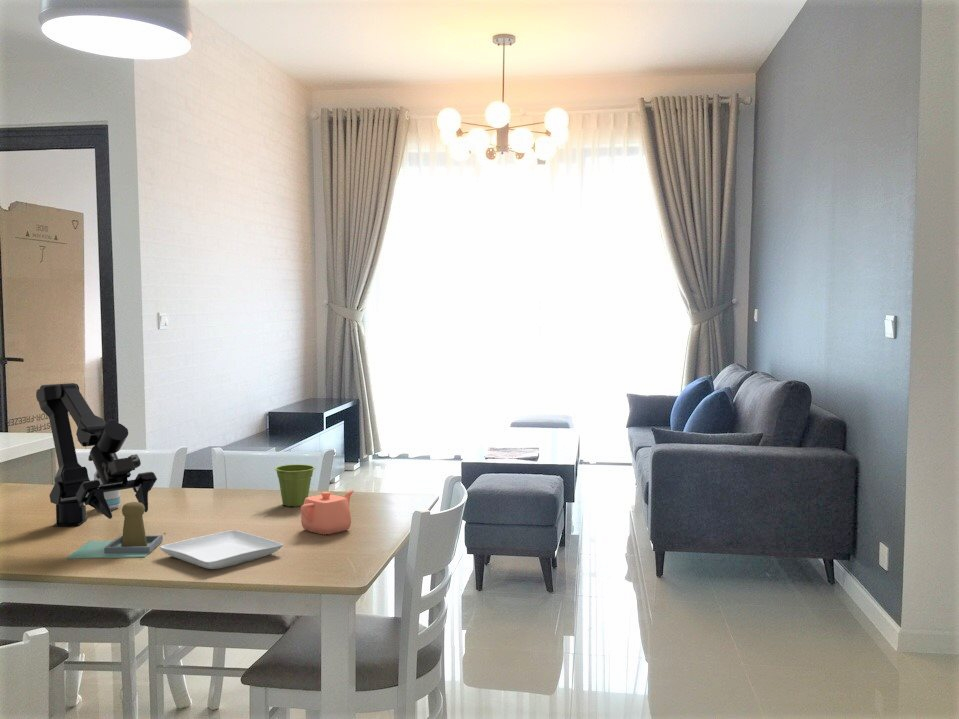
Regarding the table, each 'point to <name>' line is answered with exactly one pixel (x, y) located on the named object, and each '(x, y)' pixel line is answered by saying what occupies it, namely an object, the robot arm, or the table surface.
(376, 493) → the table surface
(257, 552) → the salad plate
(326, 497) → the teapot
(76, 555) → the board
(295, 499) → the plant pot
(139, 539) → the cork
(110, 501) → the beverage can
